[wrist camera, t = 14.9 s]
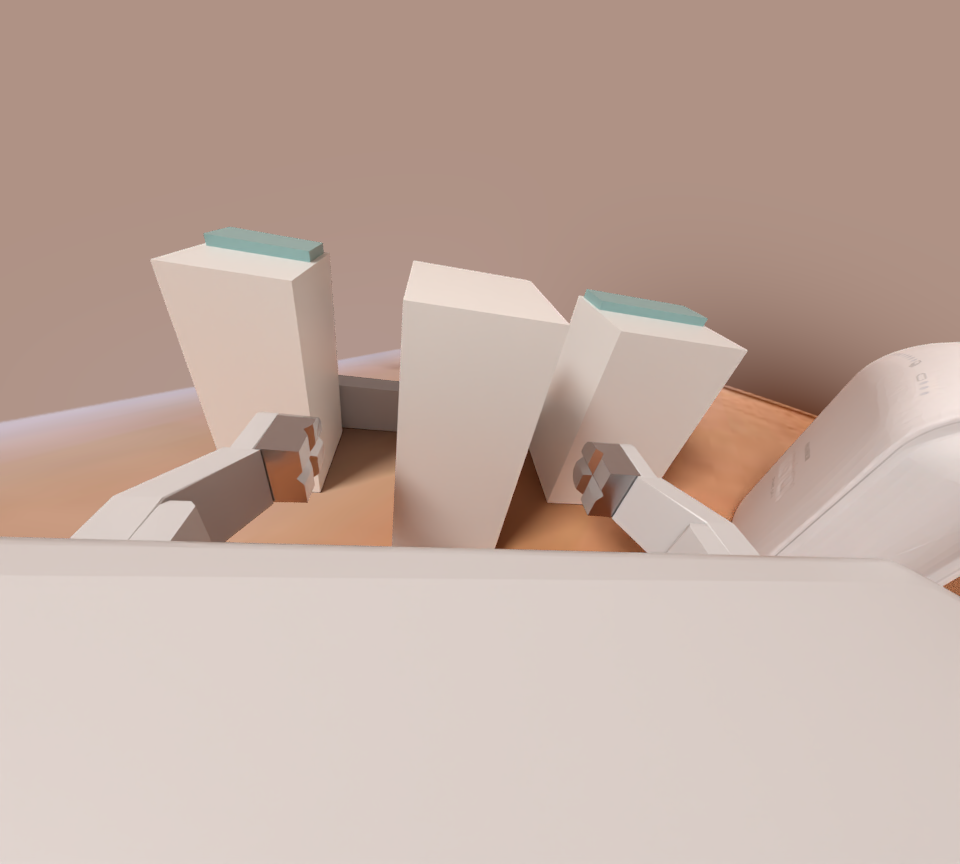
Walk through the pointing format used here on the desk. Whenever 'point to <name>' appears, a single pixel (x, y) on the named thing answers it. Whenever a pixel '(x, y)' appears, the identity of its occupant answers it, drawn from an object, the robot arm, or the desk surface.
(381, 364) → the desk surface
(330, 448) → the din mount
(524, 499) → the desk surface
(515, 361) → the block
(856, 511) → the photo printer
